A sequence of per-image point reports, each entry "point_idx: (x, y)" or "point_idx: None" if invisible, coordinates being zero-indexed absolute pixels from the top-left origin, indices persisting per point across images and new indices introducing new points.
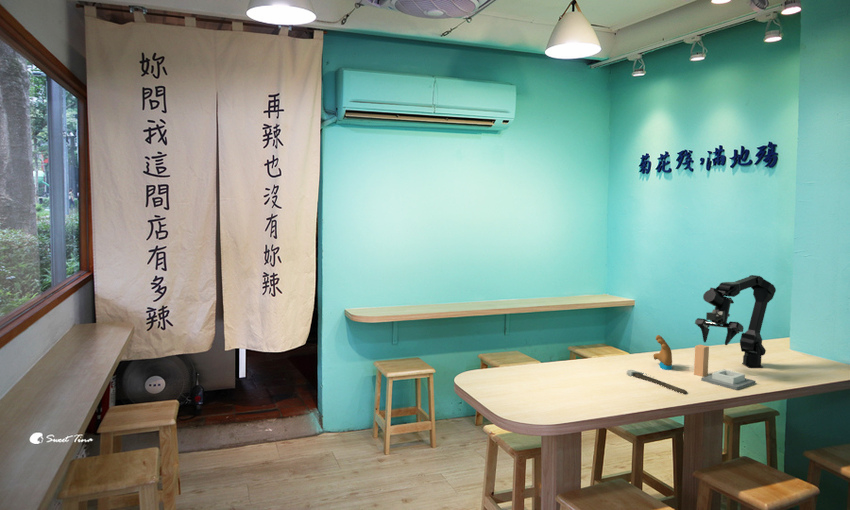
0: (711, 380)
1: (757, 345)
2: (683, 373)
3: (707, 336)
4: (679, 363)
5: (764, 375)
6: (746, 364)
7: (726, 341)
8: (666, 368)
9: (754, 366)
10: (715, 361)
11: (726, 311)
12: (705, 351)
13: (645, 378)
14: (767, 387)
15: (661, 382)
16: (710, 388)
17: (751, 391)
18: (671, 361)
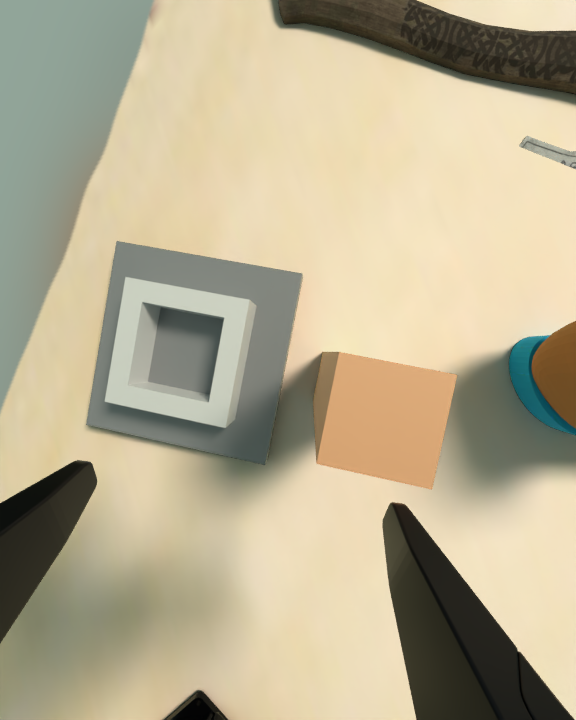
0: (246, 265)
1: None
2: (423, 340)
3: (409, 681)
4: (522, 530)
5: (108, 595)
6: (213, 718)
7: (28, 493)
8: (534, 336)
9: (179, 718)
10: (377, 710)
11: None
12: (328, 386)
13: (544, 34)
14: (43, 398)
15: (435, 11)
16: (223, 180)
17: (74, 280)
18: (548, 355)
